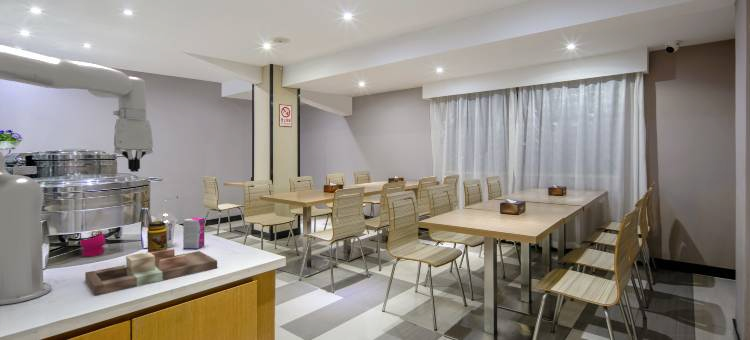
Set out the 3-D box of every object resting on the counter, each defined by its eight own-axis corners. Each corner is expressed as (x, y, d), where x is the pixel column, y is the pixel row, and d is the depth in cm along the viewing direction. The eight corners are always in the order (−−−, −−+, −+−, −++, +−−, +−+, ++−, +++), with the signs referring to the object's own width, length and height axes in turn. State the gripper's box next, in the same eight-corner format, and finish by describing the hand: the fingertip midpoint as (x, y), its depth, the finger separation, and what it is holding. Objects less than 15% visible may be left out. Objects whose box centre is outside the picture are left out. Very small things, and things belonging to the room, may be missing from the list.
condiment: (163, 257, 129) (162, 224, 129) (137, 258, 128) (136, 224, 127) (171, 251, 137) (171, 220, 136) (147, 252, 135) (146, 220, 135)
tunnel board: (199, 257, 129) (199, 242, 129) (217, 267, 119) (217, 251, 118) (85, 280, 106) (84, 262, 106) (94, 295, 96) (94, 275, 95)
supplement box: (198, 249, 139) (197, 220, 139) (182, 249, 139) (182, 220, 139) (205, 245, 145) (204, 217, 144) (190, 245, 145) (190, 217, 145)
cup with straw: (169, 242, 149) (168, 194, 148) (183, 245, 145) (182, 195, 144) (148, 247, 142) (147, 196, 140) (162, 250, 137) (161, 198, 136)
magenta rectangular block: (85, 258, 127) (83, 201, 126) (77, 254, 131) (75, 199, 130) (109, 253, 133) (107, 199, 132) (100, 250, 137) (98, 197, 136)
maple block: (131, 274, 105) (131, 260, 105) (126, 269, 109) (126, 256, 109) (155, 269, 109) (154, 256, 109) (149, 264, 113) (148, 252, 113)
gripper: (107, 113, 111) (109, 172, 112) (161, 116, 122) (162, 171, 123) (102, 114, 116) (104, 171, 118) (155, 117, 127) (156, 170, 128)
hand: (134, 171), depth 120 cm, fingers closed
